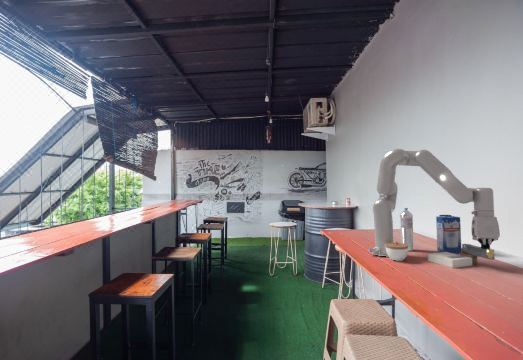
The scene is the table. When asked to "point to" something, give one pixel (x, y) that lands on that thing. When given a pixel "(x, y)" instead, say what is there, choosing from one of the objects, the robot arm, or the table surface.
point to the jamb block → (474, 258)
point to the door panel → (450, 259)
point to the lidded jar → (397, 251)
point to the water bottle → (407, 229)
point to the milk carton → (448, 234)
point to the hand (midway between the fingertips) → (485, 252)
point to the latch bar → (478, 251)
